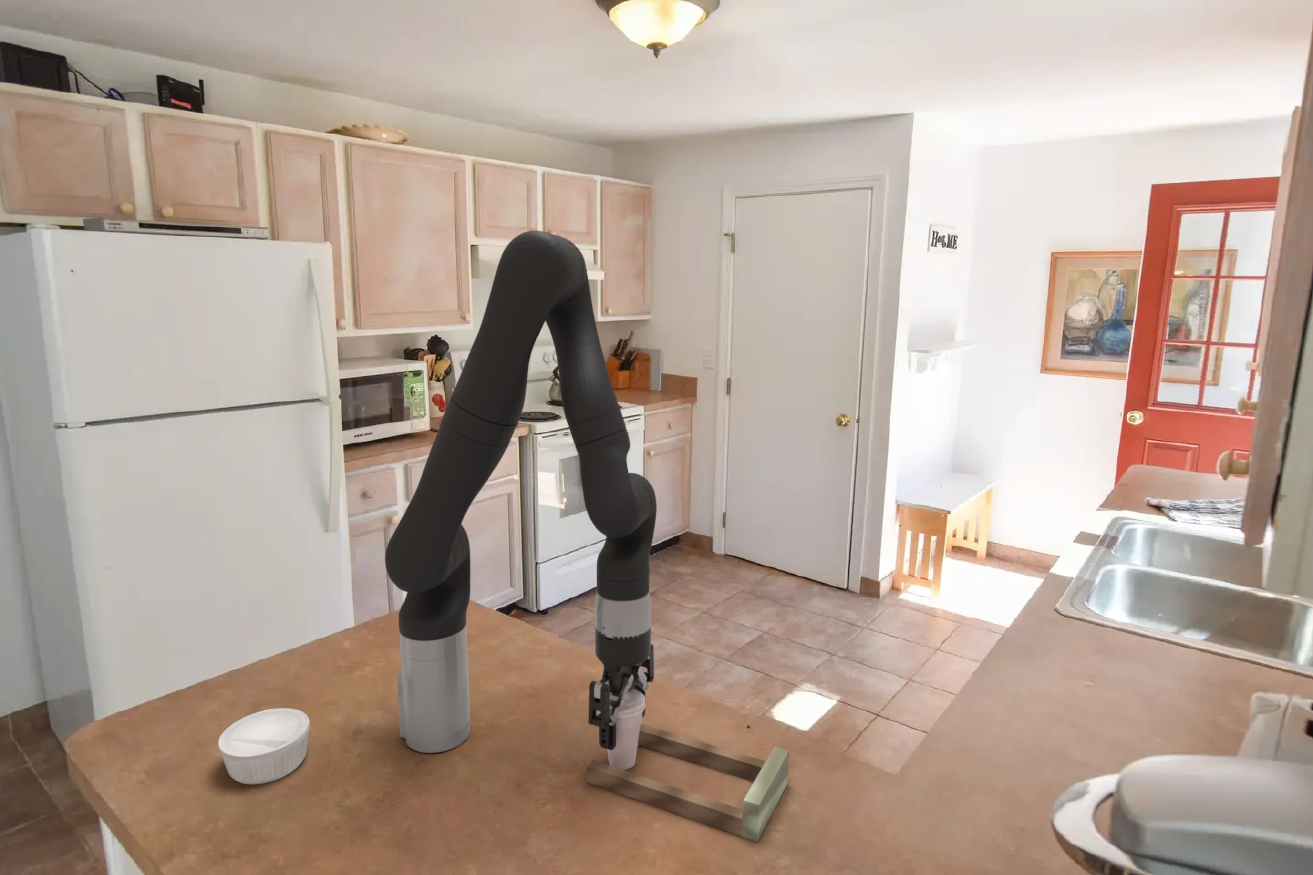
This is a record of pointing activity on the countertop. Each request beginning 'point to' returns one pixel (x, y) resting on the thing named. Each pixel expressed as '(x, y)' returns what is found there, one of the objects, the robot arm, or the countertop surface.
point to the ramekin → (265, 745)
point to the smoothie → (627, 730)
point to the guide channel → (744, 822)
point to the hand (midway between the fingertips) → (623, 730)
